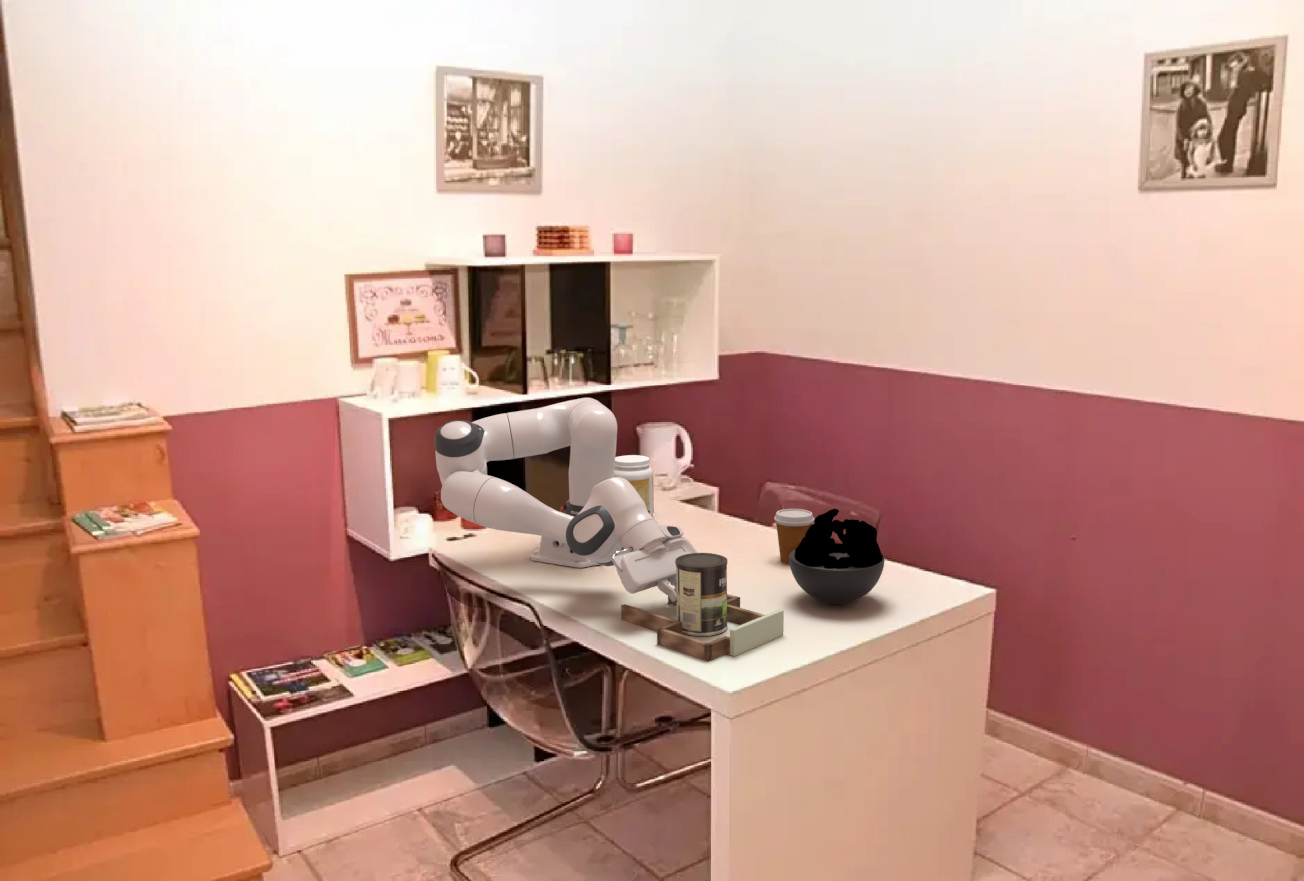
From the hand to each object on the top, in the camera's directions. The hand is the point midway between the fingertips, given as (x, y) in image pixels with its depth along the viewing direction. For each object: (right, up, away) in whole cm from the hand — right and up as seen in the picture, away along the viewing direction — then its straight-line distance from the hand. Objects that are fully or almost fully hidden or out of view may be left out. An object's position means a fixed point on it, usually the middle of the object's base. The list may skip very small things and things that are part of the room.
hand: (679, 598), depth 213 cm
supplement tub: (-11, +10, +86) cm, 88 cm away
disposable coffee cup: (+29, +3, +41) cm, 50 cm away
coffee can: (+4, -5, -3) cm, 8 cm away
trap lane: (+4, -5, -2) cm, 7 cm away
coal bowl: (+34, -3, +12) cm, 36 cm away
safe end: (+15, -7, -12) cm, 20 cm away
